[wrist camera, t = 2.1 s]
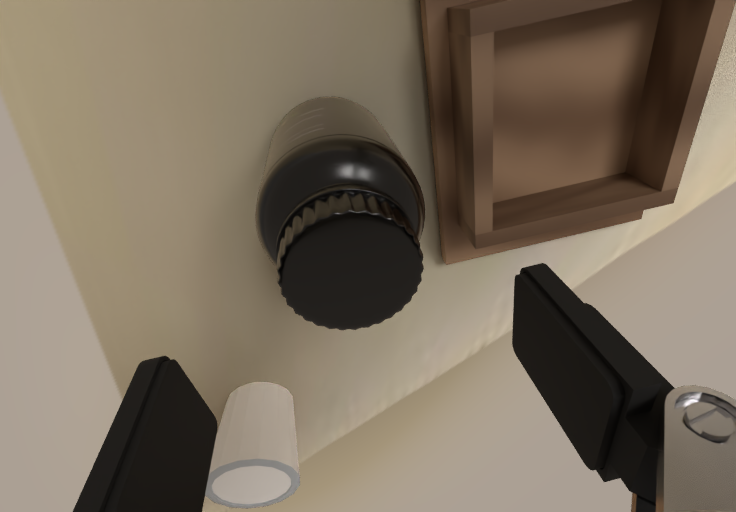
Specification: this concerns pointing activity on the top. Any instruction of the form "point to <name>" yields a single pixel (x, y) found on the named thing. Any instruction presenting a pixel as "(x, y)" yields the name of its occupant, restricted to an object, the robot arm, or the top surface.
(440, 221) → the bottle cradle
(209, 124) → the top surface
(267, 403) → the shot glass
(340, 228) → the supplement bottle
